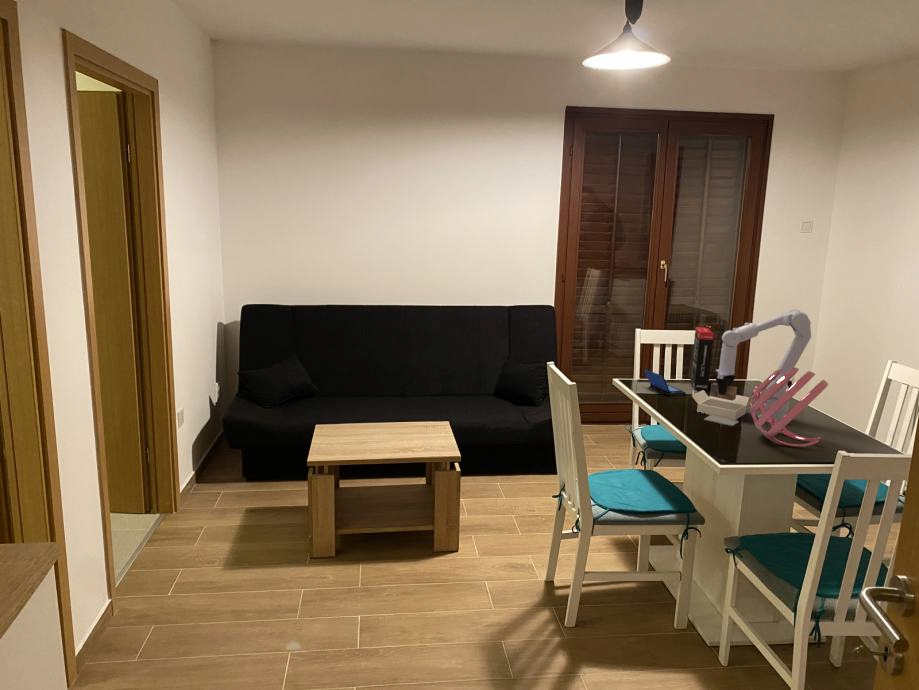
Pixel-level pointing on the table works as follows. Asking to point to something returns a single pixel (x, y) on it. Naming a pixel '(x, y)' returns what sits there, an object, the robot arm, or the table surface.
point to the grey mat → (721, 420)
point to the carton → (721, 405)
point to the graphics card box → (701, 358)
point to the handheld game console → (662, 384)
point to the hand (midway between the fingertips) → (723, 393)
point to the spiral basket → (768, 414)
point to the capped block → (728, 395)
